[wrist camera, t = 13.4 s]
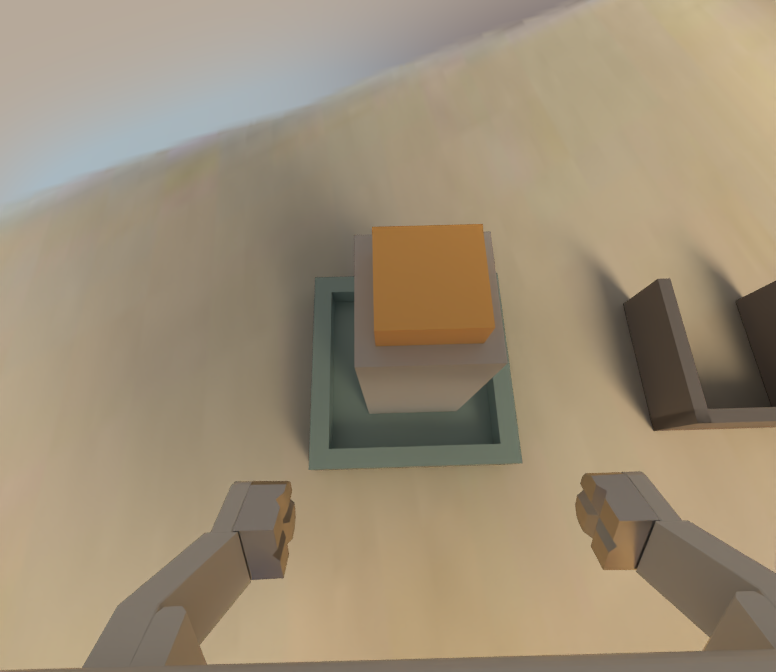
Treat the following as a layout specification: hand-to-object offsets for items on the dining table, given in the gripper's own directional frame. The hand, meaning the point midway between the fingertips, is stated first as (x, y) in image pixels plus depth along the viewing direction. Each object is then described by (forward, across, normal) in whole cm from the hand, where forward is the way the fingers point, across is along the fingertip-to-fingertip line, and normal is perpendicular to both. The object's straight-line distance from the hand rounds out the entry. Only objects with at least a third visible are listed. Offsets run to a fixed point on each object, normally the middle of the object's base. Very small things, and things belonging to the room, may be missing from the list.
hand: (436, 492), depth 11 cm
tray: (+13, 0, +4) cm, 13 cm away
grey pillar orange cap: (+12, 0, +3) cm, 13 cm away
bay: (+13, -18, +4) cm, 23 cm away
